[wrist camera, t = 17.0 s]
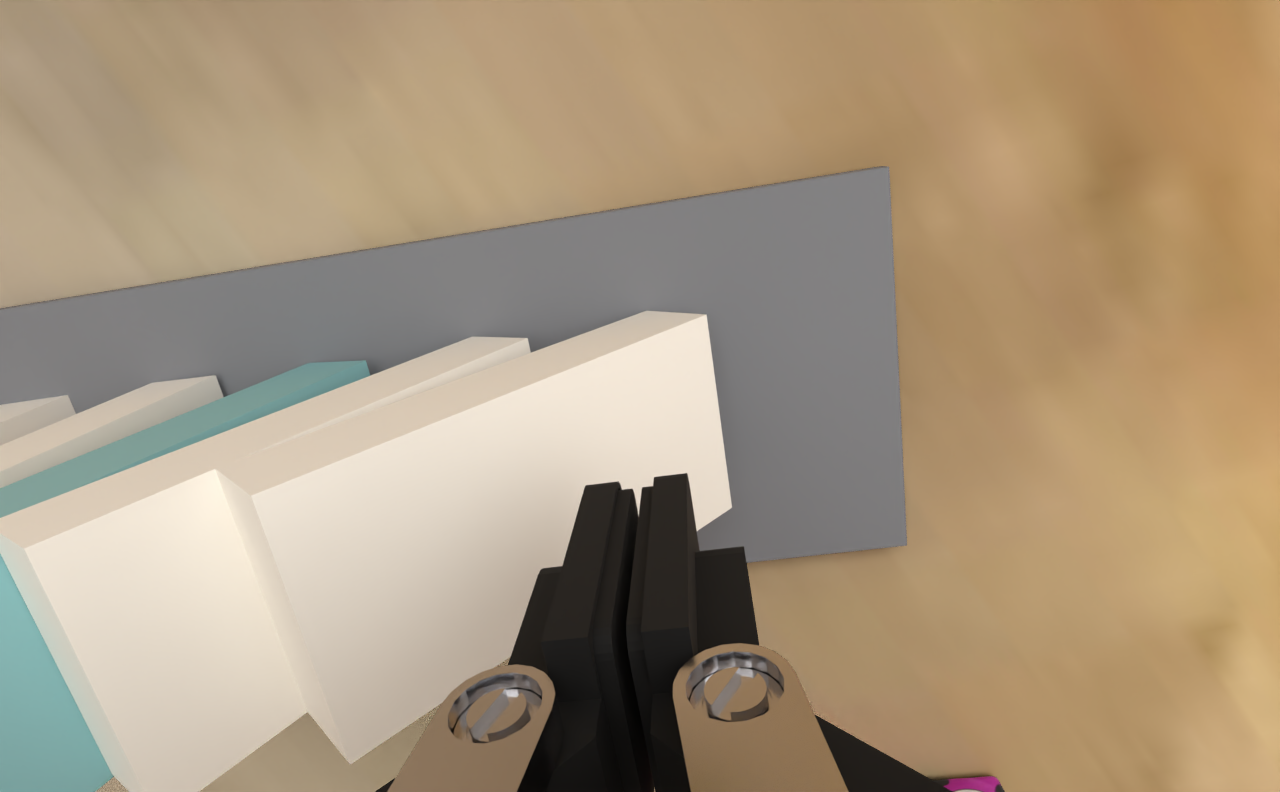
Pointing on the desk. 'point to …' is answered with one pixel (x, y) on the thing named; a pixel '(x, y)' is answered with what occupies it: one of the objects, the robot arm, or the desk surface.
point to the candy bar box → (972, 784)
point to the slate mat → (570, 334)
